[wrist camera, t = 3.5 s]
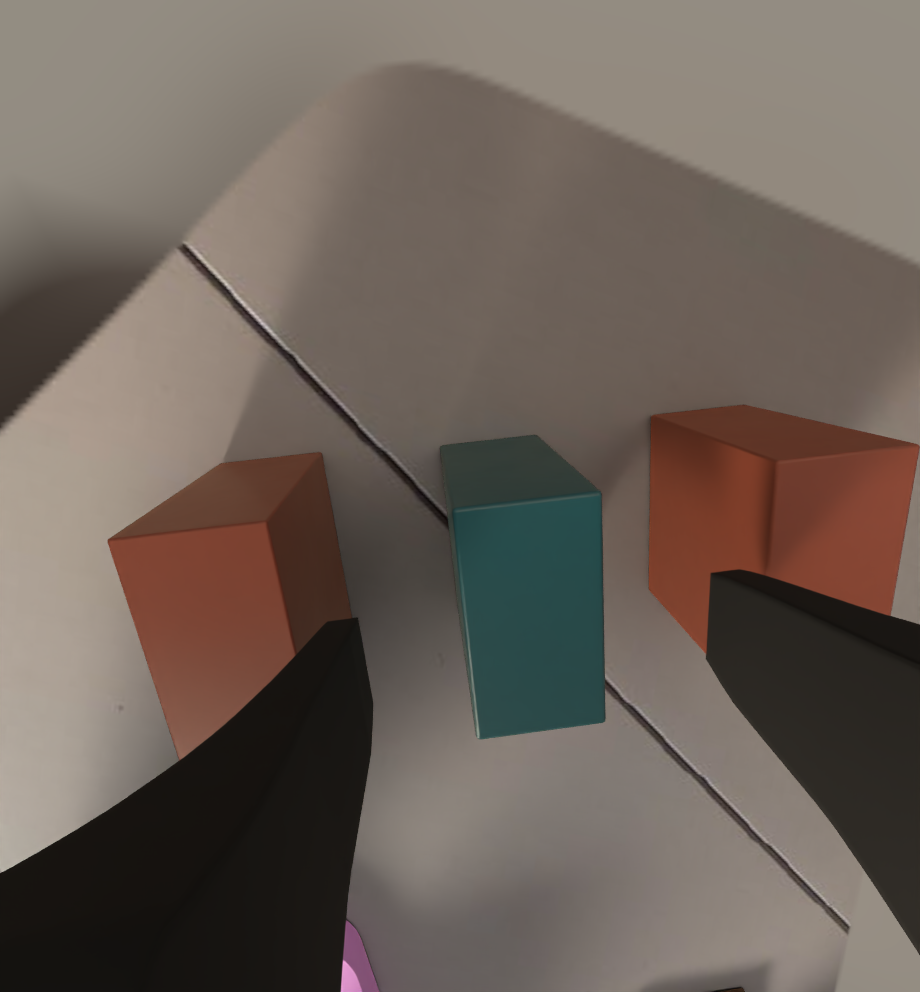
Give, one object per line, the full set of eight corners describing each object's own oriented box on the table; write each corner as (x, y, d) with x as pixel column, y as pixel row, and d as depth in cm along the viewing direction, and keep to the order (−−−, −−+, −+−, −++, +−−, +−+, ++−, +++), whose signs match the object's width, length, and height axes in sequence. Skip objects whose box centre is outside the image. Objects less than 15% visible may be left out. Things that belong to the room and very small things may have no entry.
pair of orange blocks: (745, 403, 16) (922, 443, 11) (733, 579, 18) (878, 694, 12) (220, 463, 16) (105, 539, 10) (263, 638, 17) (187, 788, 12)
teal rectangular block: (537, 433, 16) (603, 491, 10) (546, 597, 18) (607, 724, 12) (439, 444, 16) (451, 508, 10) (457, 608, 18) (476, 742, 12)
